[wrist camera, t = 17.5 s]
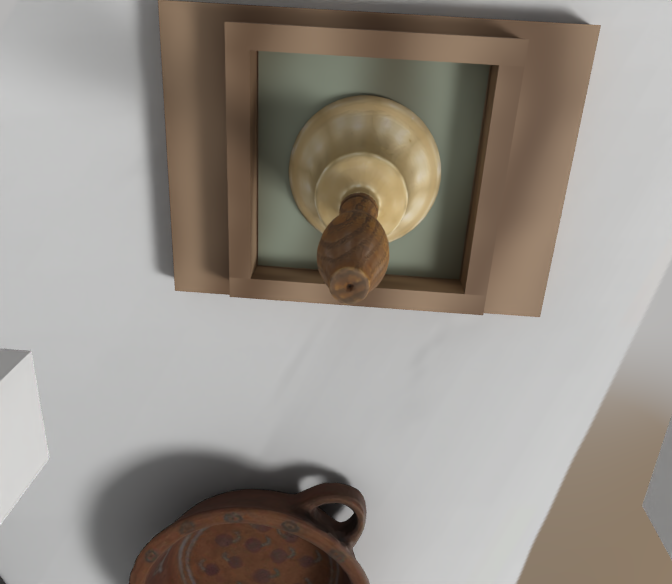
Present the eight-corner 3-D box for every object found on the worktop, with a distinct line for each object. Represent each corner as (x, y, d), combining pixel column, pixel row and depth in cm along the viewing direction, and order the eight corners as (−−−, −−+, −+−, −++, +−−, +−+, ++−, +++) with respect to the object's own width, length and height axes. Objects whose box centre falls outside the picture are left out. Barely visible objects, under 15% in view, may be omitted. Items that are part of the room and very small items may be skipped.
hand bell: (264, 204, 35) (184, 339, 20) (330, 65, 32) (291, 108, 17) (393, 269, 36) (404, 441, 22) (469, 141, 33) (543, 242, 18)
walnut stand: (182, 281, 39) (164, 304, 36) (167, 0, 32) (144, -2, 29) (534, 306, 38) (548, 332, 35) (591, 24, 32) (615, 25, 29)
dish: (96, 577, 50) (69, 632, 46) (249, 403, 43) (234, 449, 38) (269, 673, 54) (260, 734, 50) (439, 529, 46) (446, 585, 42)
